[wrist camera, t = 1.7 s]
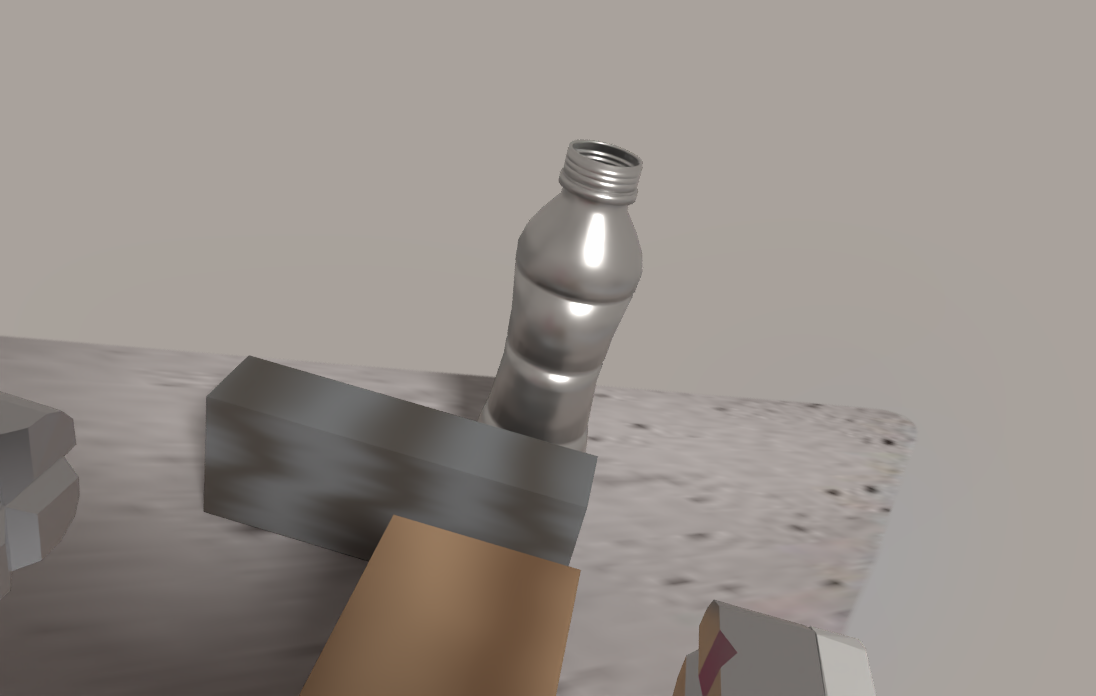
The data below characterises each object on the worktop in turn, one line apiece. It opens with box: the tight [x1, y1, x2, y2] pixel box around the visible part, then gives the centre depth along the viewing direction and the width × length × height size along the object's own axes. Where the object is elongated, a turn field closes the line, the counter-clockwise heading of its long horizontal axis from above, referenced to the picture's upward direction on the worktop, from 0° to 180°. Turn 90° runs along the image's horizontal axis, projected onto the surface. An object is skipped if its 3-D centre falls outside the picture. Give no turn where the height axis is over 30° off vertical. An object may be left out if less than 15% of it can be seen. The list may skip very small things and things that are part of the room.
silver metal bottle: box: [477, 140, 643, 453], centre depth 44 cm, size 6×7×20 cm
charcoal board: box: [204, 356, 598, 566], centre depth 41 cm, size 18×4×7 cm, turn 80°
